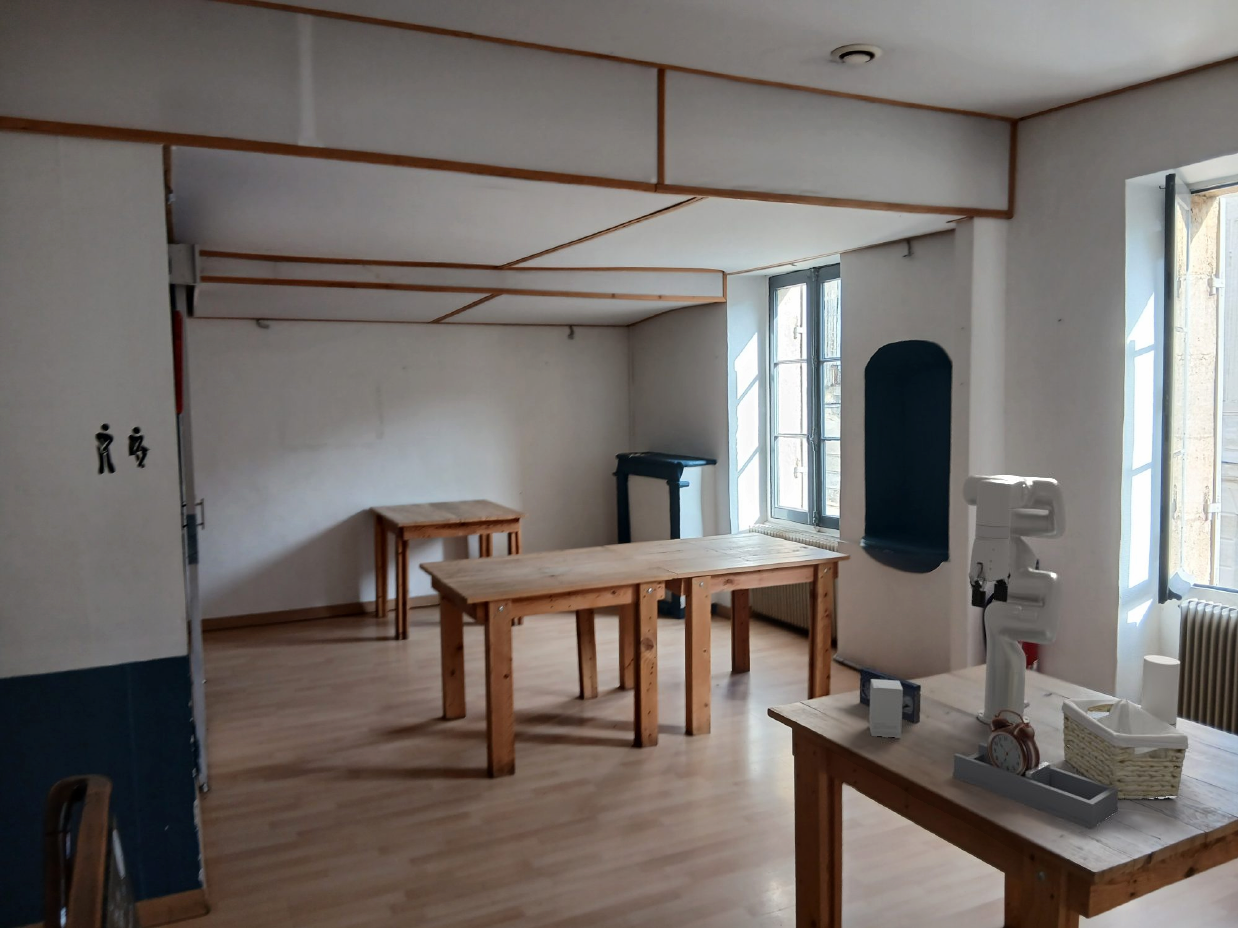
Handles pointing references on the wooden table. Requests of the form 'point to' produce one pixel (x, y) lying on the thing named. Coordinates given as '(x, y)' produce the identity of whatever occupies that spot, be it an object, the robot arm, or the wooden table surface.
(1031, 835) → the wooden table surface
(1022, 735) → the alarm clock
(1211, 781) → the wooden table surface
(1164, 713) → the cylindrical container
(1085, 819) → the tray
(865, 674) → the vhs cassette tape
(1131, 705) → the storage basket
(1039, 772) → the pusher plate
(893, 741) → the wooden table surface
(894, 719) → the supplement box
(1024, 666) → the robot arm
